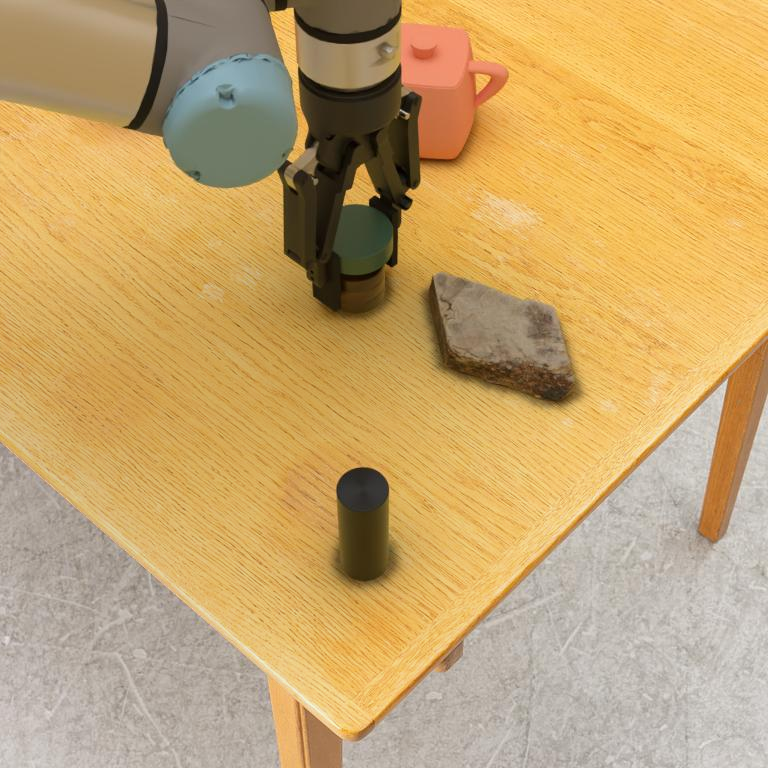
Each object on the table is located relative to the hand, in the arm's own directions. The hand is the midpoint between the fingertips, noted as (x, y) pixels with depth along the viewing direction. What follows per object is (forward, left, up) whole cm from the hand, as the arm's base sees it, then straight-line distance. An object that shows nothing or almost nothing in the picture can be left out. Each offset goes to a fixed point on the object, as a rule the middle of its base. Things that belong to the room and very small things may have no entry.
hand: (355, 279), depth 103 cm
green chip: (0, 0, +4) cm, 4 cm away
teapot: (+8, +21, -2) cm, 23 cm away
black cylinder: (-3, -27, -2) cm, 27 cm away
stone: (+11, -8, -2) cm, 14 cm away
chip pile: (0, 0, -2) cm, 2 cm away
